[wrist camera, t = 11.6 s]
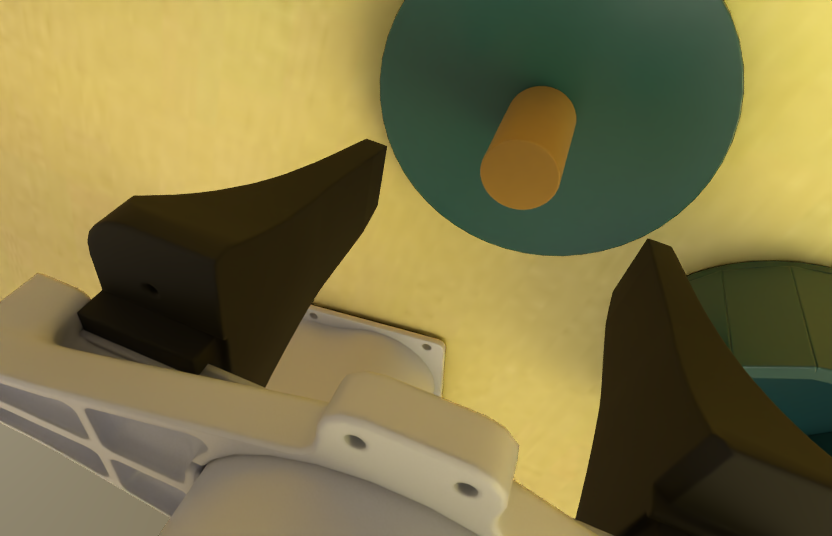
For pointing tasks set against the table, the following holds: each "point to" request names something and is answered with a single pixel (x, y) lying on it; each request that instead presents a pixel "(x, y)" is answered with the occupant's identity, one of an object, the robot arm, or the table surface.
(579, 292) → the table surface
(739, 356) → the tin
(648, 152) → the lid
